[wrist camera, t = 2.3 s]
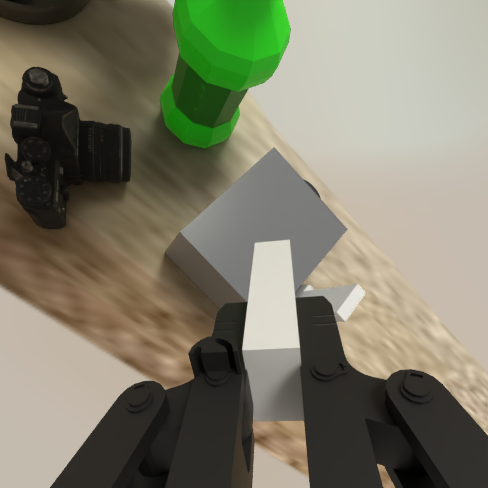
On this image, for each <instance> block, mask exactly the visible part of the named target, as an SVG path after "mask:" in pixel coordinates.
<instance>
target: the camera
mask: <svg viewBox="0 0 488 488" xmlns="http://www.w3.org/2000/svg"><path fill="white" fill-rule="evenodd" d="M22 80H23V82H22V87H21V90H20V91H19V93H18V104H15V105H13V106H12V109H11V114H12V116H11V121H10V126H11V128H12V137H13V139H14V141H15V142H16V143H17V144H18V159H17V161H16V162H14V161H13V160H12V158H11V157H10V156H9V155H8V154H7V153H6V154H5V163H6V169H7V176H8V177H9V178H10V180H14V181H15V184H16V196H17V200H18V202H19V203H20V204H21V205H22V207H23V209H24V210H25V211H26V212H27V213H28V214H29V215H30V216H31V218H32V219H33V220H34V222H35V223H36V224H37V225H38V226H40V227H43V228H47V229H59V228H63V227H65V220H66V201H68V200H69V193H68V190H67V187H68V186H69V184H71V183H73V184H76V185H81V184H83V180H85V181H90V182H105V181H107V182H113V183H120V182H129V181H130V174H131V131H130V129H129V128H125V127H122V126H120V125H116V124H104V123H100V122H94V121H81V120H80V118H79V113H78V109H77V107H76V106H74V105H72V104H69V103H67V102H64V100H65V99H67V98H68V97H67V96H65V95H64V94H63V92H62V87H61V84H60V81H59V78H58V76H57V75H55V74H53V73H51V72H50V71H48V70H47V69H44V68H40V67H32V68H30V69H28V70H26V71H25V73H24V74H23V77H22Z"/></svg>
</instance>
